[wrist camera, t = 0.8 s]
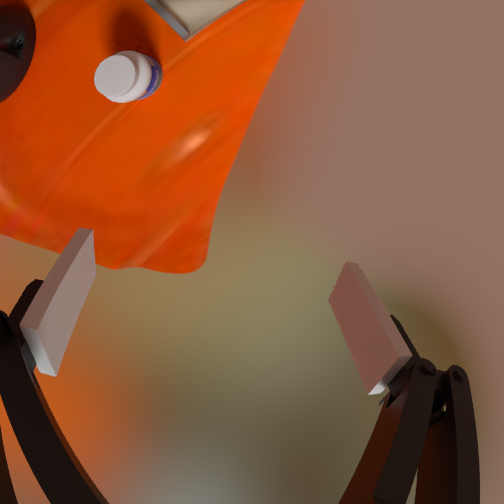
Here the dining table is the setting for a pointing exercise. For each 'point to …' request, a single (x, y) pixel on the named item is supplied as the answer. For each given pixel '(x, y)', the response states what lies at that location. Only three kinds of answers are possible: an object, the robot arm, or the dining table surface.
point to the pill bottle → (128, 76)
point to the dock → (192, 13)
